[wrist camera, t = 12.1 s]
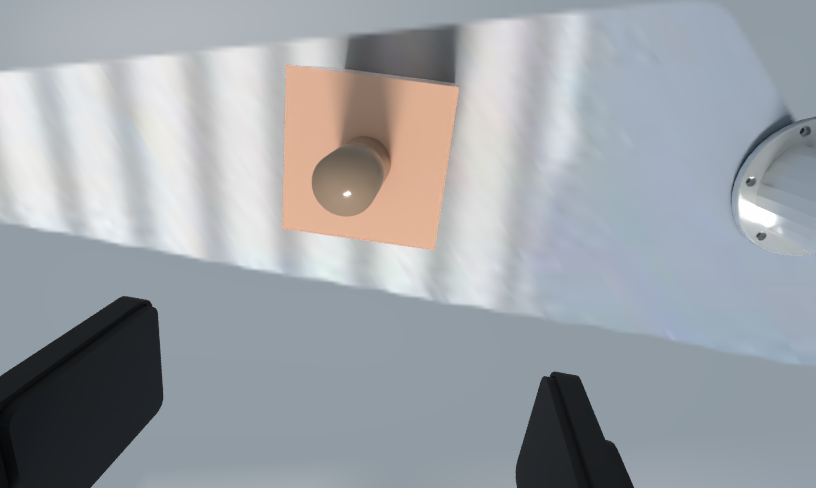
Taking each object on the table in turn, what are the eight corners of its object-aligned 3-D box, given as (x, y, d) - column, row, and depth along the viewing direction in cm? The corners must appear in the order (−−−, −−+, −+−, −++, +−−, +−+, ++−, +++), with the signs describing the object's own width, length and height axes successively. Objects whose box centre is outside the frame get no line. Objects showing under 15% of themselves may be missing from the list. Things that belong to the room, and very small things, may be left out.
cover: (454, 83, 41) (463, 90, 20) (438, 191, 44) (431, 291, 24) (344, 68, 41) (242, 61, 20) (337, 177, 45) (244, 264, 24)
